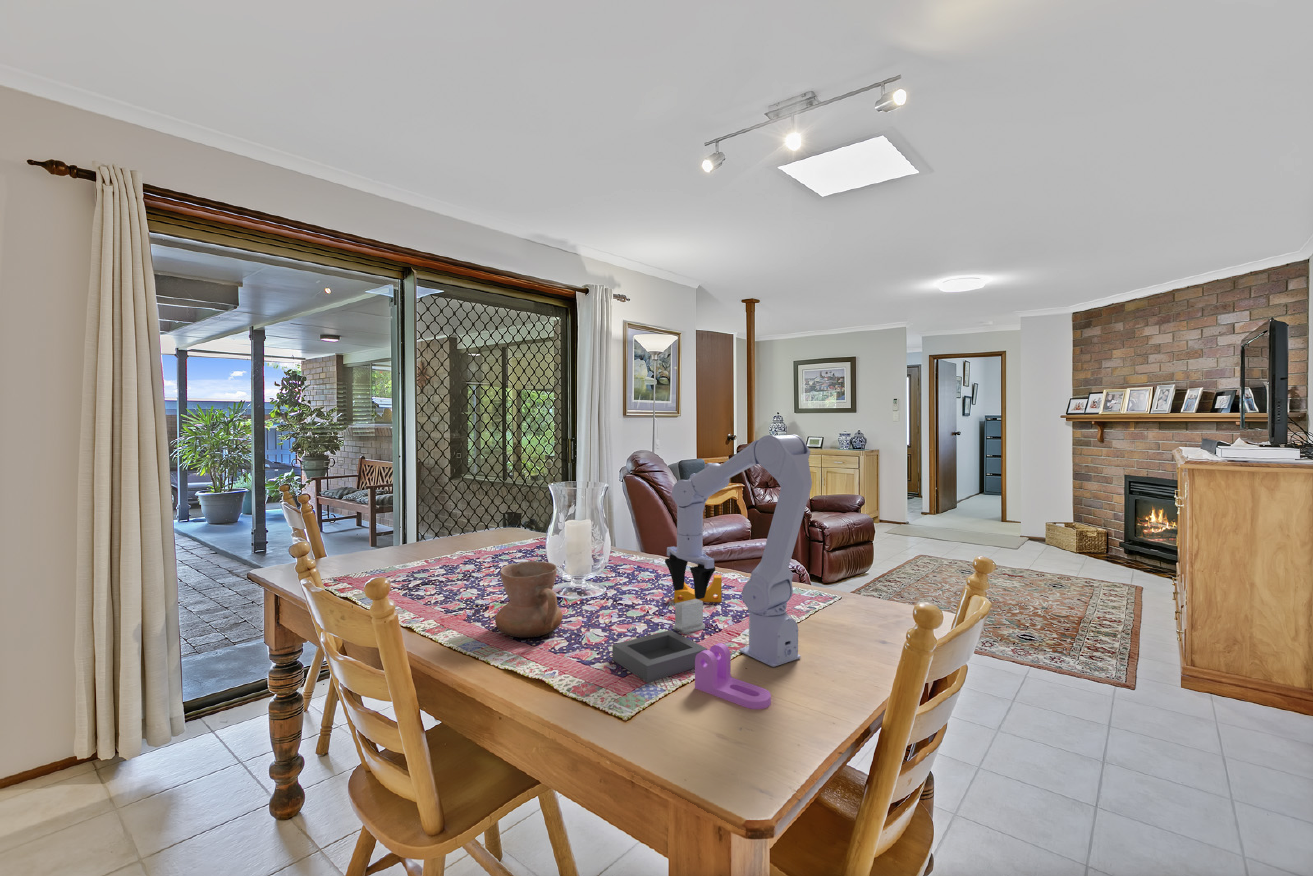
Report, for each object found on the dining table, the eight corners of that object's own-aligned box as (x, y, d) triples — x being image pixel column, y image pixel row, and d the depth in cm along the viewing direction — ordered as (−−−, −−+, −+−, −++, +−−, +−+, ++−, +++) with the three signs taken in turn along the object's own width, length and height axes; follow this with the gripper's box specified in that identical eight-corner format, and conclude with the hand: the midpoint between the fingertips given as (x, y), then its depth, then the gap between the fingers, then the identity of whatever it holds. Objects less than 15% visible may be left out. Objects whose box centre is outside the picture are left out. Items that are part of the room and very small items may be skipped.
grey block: (705, 628, 133) (705, 602, 133) (683, 634, 129) (684, 607, 129) (693, 623, 136) (694, 597, 136) (672, 629, 133) (673, 602, 132)
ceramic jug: (481, 628, 132) (480, 565, 131) (538, 613, 142) (538, 554, 141) (521, 654, 119) (521, 584, 118) (581, 636, 128) (581, 571, 127)
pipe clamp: (674, 603, 151) (674, 578, 151) (675, 598, 155) (675, 574, 155) (721, 605, 150) (721, 579, 150) (721, 599, 154) (721, 575, 154)
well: (707, 664, 114) (707, 648, 113) (647, 682, 106) (647, 666, 105) (670, 644, 123) (670, 630, 123) (612, 659, 115) (612, 644, 115)
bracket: (694, 689, 104) (695, 649, 103) (713, 678, 108) (713, 640, 108) (759, 713, 95) (760, 670, 95) (776, 701, 99) (777, 660, 99)
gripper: (725, 537, 128) (724, 599, 129) (683, 526, 140) (683, 583, 141) (700, 540, 124) (699, 604, 125) (659, 529, 136) (659, 588, 137)
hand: (689, 593), depth 132 cm, fingers open, 7 cm apart
